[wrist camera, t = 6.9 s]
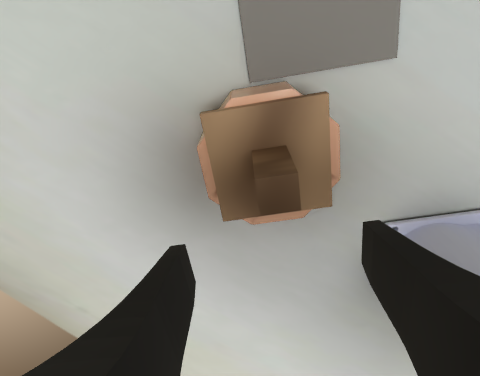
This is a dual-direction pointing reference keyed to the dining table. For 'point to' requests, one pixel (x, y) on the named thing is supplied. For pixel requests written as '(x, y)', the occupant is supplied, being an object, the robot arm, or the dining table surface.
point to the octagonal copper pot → (256, 96)
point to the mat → (316, 34)
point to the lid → (270, 156)
